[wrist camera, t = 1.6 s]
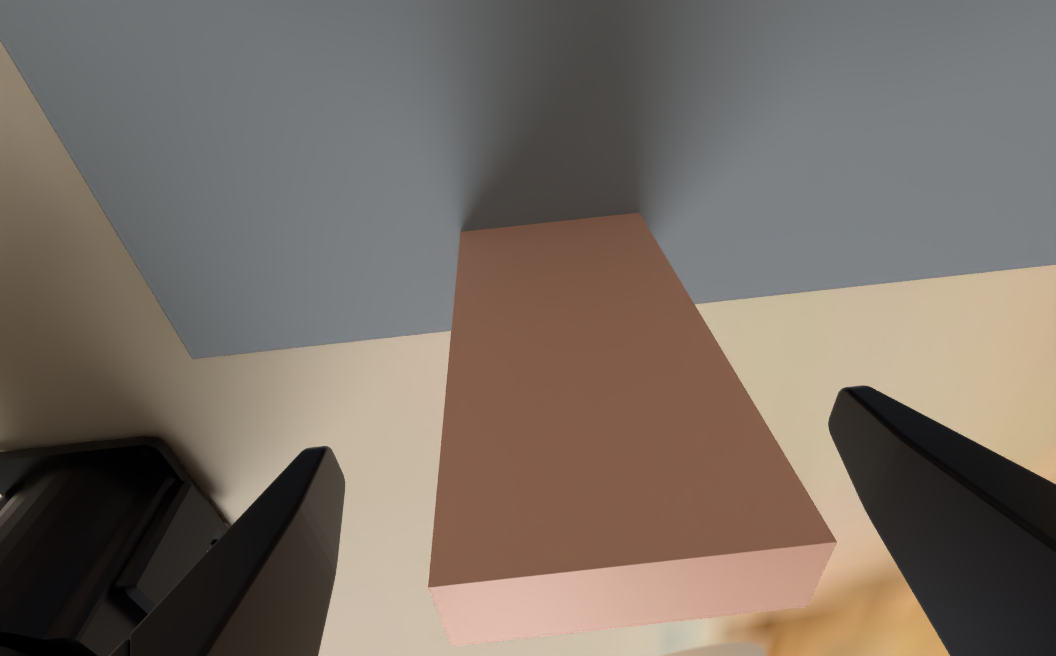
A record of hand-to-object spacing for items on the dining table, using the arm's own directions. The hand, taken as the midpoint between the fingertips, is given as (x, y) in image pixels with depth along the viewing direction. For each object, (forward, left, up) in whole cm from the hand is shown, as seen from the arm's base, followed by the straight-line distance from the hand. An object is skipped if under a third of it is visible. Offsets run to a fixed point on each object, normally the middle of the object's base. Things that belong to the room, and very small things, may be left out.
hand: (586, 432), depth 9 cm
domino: (0, 0, -7) cm, 7 cm away
